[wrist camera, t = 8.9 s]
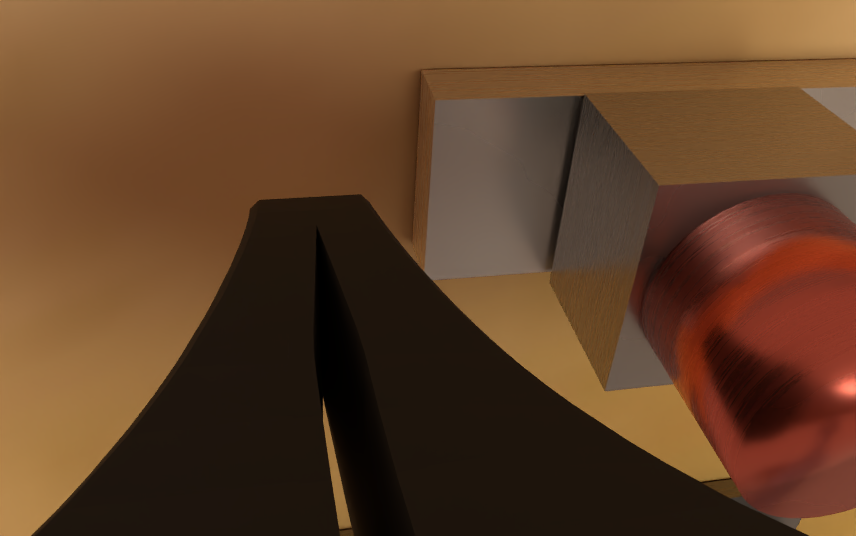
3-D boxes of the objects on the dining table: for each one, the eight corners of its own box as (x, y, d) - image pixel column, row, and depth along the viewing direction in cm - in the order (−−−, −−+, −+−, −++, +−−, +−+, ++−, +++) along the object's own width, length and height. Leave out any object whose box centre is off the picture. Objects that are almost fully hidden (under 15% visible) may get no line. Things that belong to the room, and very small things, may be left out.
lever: (734, 268, 13) (933, 510, 9) (549, 282, 13) (683, 545, 9) (798, 86, 11) (1080, 298, 7) (584, 93, 11) (775, 328, 7)
